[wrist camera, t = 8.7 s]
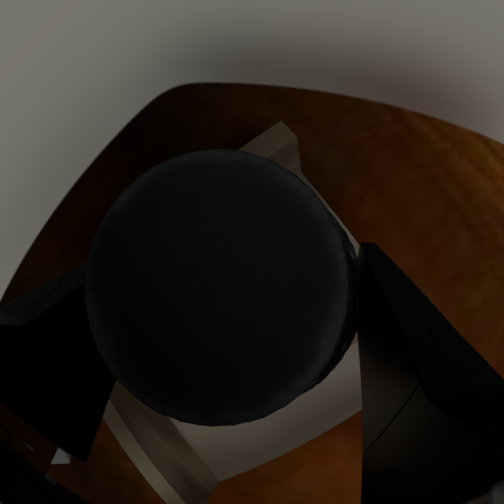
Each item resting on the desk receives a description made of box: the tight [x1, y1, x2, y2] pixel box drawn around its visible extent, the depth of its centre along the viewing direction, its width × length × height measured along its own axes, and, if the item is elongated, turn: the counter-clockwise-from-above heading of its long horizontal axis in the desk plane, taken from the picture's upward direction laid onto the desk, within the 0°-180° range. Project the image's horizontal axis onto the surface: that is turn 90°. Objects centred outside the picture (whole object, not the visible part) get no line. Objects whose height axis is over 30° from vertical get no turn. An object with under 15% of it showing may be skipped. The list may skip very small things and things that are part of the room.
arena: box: [103, 121, 362, 504], centre depth 14 cm, size 14×16×4 cm
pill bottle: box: [84, 149, 363, 427], centre depth 10 cm, size 6×6×11 cm
